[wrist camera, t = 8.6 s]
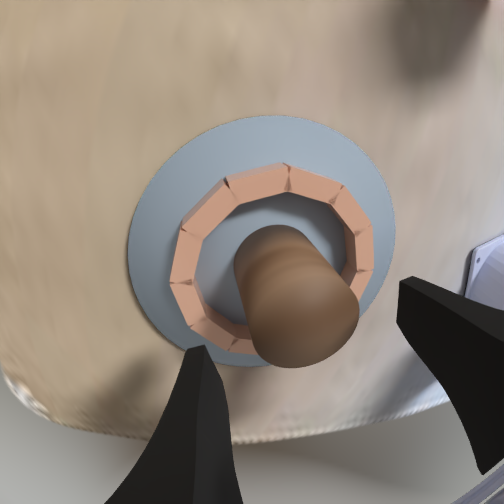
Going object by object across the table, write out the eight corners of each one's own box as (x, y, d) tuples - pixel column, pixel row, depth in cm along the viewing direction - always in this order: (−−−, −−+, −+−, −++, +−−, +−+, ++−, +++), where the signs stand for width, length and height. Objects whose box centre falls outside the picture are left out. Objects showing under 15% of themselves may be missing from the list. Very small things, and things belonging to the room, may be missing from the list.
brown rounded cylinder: (317, 285, 16) (359, 347, 11) (244, 307, 15) (264, 379, 11) (307, 214, 14) (358, 264, 9) (224, 237, 14) (239, 300, 9)
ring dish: (387, 317, 19) (400, 333, 17) (187, 381, 18) (188, 402, 16) (376, 97, 12) (398, 97, 11) (88, 168, 12) (74, 176, 10)
